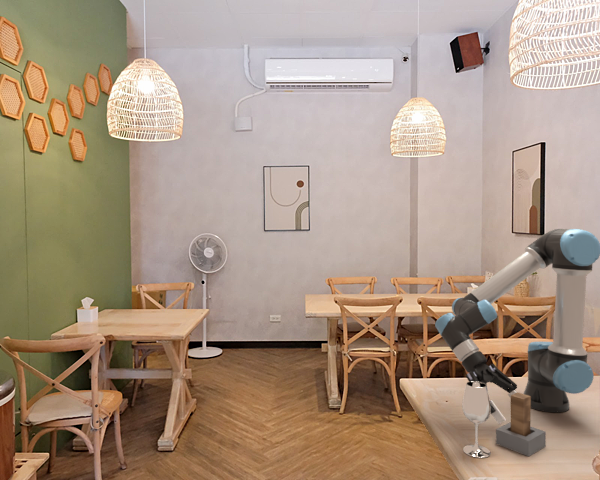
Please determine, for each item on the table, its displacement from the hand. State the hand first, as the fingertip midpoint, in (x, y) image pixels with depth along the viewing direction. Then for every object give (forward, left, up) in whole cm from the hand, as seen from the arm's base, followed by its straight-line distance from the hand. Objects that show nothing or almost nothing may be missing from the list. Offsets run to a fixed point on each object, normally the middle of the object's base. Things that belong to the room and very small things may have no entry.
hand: (514, 416), depth 141 cm
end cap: (-1, +1, -8) cm, 8 cm away
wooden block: (-1, +1, -7) cm, 7 cm away
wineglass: (+13, +7, -8) cm, 17 cm away
